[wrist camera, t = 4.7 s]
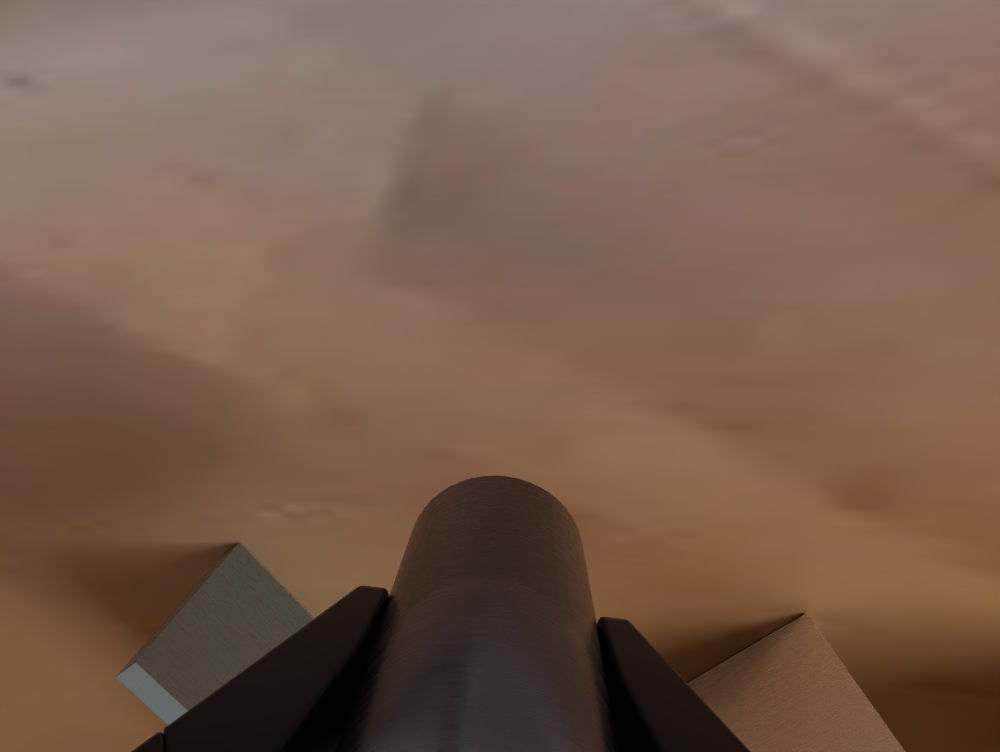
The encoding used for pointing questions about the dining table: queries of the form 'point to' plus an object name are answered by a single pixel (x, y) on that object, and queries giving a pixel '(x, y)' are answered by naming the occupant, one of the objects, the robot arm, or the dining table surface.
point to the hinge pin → (486, 634)
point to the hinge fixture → (725, 688)
